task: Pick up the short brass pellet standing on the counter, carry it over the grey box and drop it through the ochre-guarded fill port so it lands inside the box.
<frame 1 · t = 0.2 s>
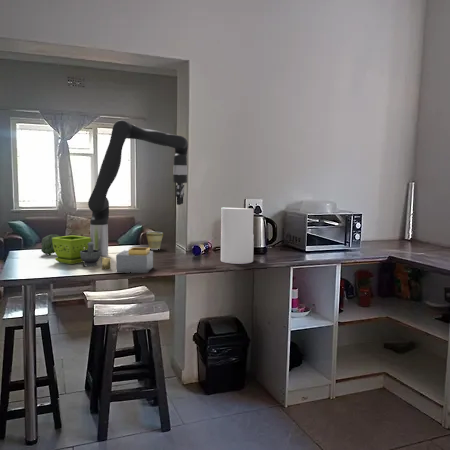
hand: (180, 204, 241), 29 cm above the counter, fingers open, 8 cm apart
cylinder: (236, 261, 237), on the counter
vegetable: (54, 255, 247), on the counter
ceramic cup: (156, 249, 272), on the counter
flower pot: (72, 262, 226), on the counter
mortar and pestle: (90, 265, 218), on the counter
grey box: (135, 269, 209), on the counter
pellet: (106, 268, 211), on the counter
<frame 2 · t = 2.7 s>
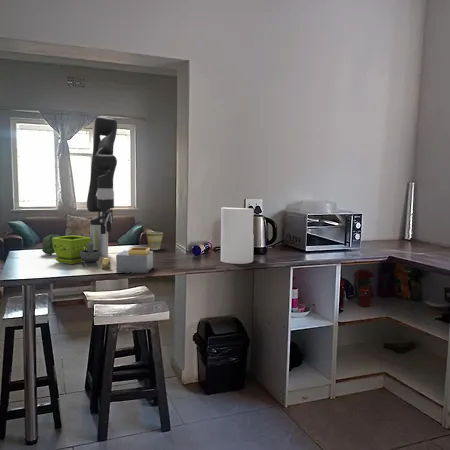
hand: (106, 232, 209), 17 cm above the counter, fingers open, 8 cm apart
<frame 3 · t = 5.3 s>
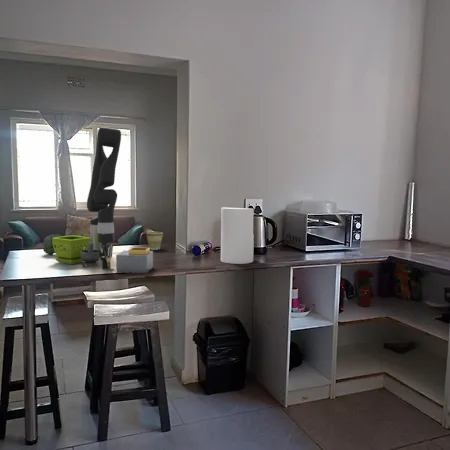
hand: (106, 267, 211), 0 cm above the counter, fingers closed on pellet, 4 cm apart
pellet: (106, 268, 211), on the counter, touching gripper
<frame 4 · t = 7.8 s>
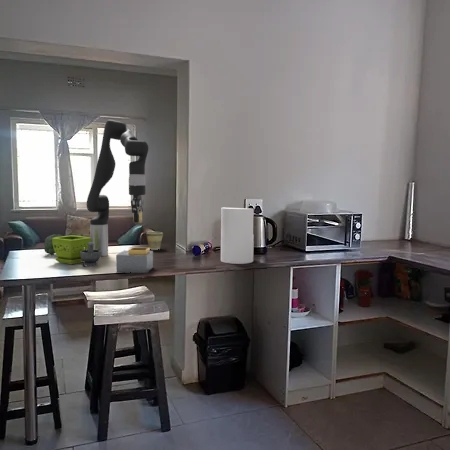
hand: (137, 221, 206), 23 cm above the counter, fingers closed on pellet, 4 cm apart
pellet: (137, 222, 206), point 22 cm above the counter, touching gripper
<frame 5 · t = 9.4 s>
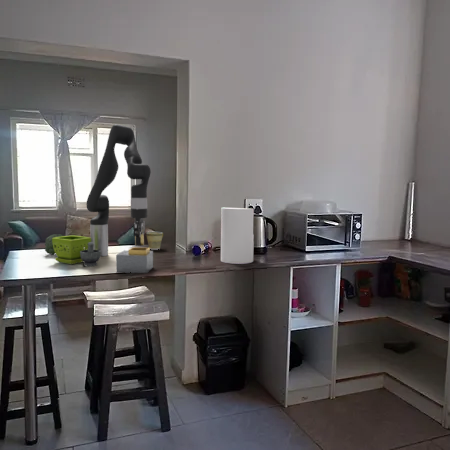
hand: (139, 244, 208), 12 cm above the counter, fingers closed on pellet, 4 cm apart
pellet: (139, 245, 208), point 12 cm above the counter, touching gripper
when the fingers open (11 cm above the counter, at t = 10.4 s): pellet drops 10 cm, resting on grey box.
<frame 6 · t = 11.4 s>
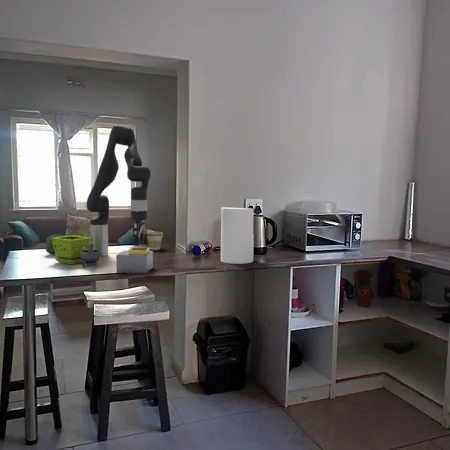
hand: (139, 244, 208), 12 cm above the counter, fingers open, 8 cm apart
pellet: (137, 268, 208), point 1 cm above the counter, touching grey box
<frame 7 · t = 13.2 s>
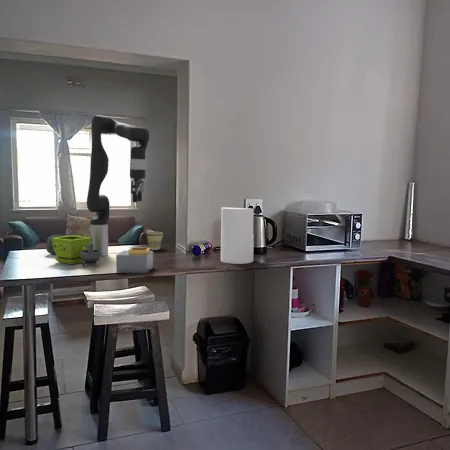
hand: (137, 201, 220), 31 cm above the counter, fingers open, 8 cm apart
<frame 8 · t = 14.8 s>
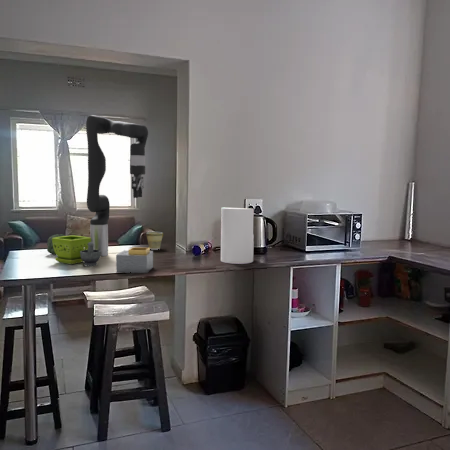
hand: (137, 197, 224), 33 cm above the counter, fingers open, 8 cm apart
at the end: pellet inside the target area on the grey box (1.7 cm from its centre), point 1.1 cm above the grey box's base; the gripper is holding nothing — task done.
